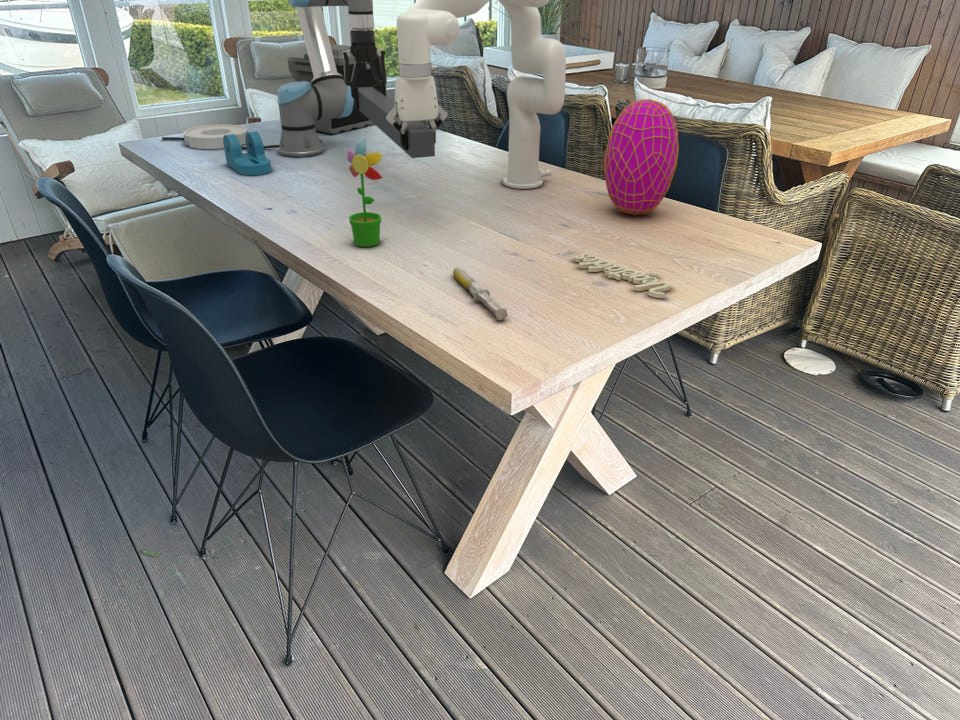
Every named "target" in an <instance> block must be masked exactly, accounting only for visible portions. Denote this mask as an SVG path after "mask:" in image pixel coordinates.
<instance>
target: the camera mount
mask: <svg viewBox="0 0 960 720" xmlns="http://www.w3.org/2000/svg"><path fill="white" fill-rule="evenodd" d="M245 139H246V144H245V147H247V149H246V152H243V151H242V150H243V149H241V147H242V145H240V142H239V140H238V138H237V136H236V135H235V134H230V135H224V137H223V144H224V148H223V149H224V150H223V151H224V156H225V161H226V165H227V166H228V167H230V168H231V169H232V170H234V171H236V172H237V173H238V174H239V175H244V176H260V175H265V174H268V173H271V172H272V164H271V159H270V158H268V157H267V156H266V153H265V149H264V146H265V145H264V141H263V139H262V136H261V134H260V132H258V131H248V132H247V133H246V137H245Z"/></svg>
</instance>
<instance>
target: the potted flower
mask: <svg viewBox="0 0 960 720" xmlns="http://www.w3.org/2000/svg"><path fill="white" fill-rule="evenodd" d="M382 158H383V154H382V153H379V152H370V153H368V154H367V138H363V139H361V140H360V141H359V142H357V144H356V145H355V150H354V151H353V150H352V149H348V150H347V155H346V160H347V162H348V163H349V164H351V165H350V166H349V167H348V170H349V172H350V173H351V175H352V177H354V178H357V177H358V176H359V175H360V186H361V187H356V188H357V191H356V192H357V193H358V194H359V195H360V196H361V199H362V212H356V213H353V214H351V215H350V216H349V217H348V220H349V224H350V226H351V227H350V228H351V232H352V237H353V243H354V244H355V246H358V247H363V248H368V247H375V246H377V245H379V243H380V241H381V240H380V238H381V235H380V234H381V223H382V215H381V214H380V213H378V212H377V213H376V212H373V211H371V212H369V211H367V207H366V205H372V204H373V203H374V202H375V199H374V198H373V197H371V196H366V194H365V179H364V176H365V177H366V178H367V179H369V180H371V181H377V180H381V179H382V178H383V176H382V175H381V173H380V172H378V170H376V169H375V168H373V167H374V166H376V165H377V164H379V163H380V161H381V159H382Z"/></svg>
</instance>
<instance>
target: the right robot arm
mask: <svg viewBox="0 0 960 720" xmlns="http://www.w3.org/2000/svg"><path fill="white" fill-rule="evenodd" d="M490 1H491V0H416V1H415V2H414V3H413V4H412V5H411V6H410V7H409V8H408V9H407V10H406V11H405V12H402V13H400V14H398V15H397V17H396V33H397V35H396V36H397V53H398V70H399V71H398V72H399V73H398V74H399V76H396V78H395V84H394V85H395V86H394V103H395V107H394V108H393V109H392V110H391V112H390V113H389V114H388V115H387V117H386V120H387V121H388V122H390V123H391V124H392V125H393V126H394V127H395V128H396V129H397V130H398V131H399V132H400V143H401V146H403V148H404V149H405V150H408V134H407V133H406V129H407V126H408V122H414V121H421V122H427V126H428V127H429V128H431V129H432V130H434V139H435V144H436V143H437V135H436V133H437V131H438V129H439V128H440V126H441V125H442V123H443V122H444V121H446V118H447V117H448V116H449V114H448V113H447V112H446V111H445V110H444V109H443V107H442V106H441V105H440V104H439V102H438V101H439V100H438V93H437V87H436V82H435V77H434V75H433V72H436V71H437V70H438V69H437V67H438V66H437V64H433V63H432V62H431V59H432V58H431V46H443V47H444V46H448V45H451V44H452V43H454V42H455V41H456V39H457V38H458V36H459V33H460V25H459V24H460V23H459V20H458V19H460V18H465V17H469V16H472V15H475V14H477V13H478V12H479V11H481V10H482V9H483V7H485V6H486V5H487V4H488V3H489V2H490ZM497 1H498V2H499V3H500V4H501V6H503V8H504V9H505V10H506V13H507V14H508V18H509V23H510V42H511V43H510V47H511V49H510V50H511V53H510V55H511V64H512V67H513V68H514V70H516V71H517V72H520V73H525V74H533V75H534V74H535V75H541V76H542V78H540V77H536V76H535V77H533V76H517V77H515V78H513V79H512V80H511V81H510V82H509V83H508V85H507V89H506V100H507V107H508V119H509V120H508V121H509V122H508V123H509V124H508V125H509V127H508V128H509V129H508V157H507V176H504V177H503V179H502V184H503V186H505V187H508V188H511V189H519V190H530V189H531V190H532V189H536V188H539V187H541V186H542V185H543V179H542V178H543V177H548V176H549V177H550V176H552V173H553V172H552V169H544V168H539V165H540V164H539V163H540V162H539V160H540V144H541V143H540V142H541V140H540V139H541V122H540V118H539V117H538V114H542V115H549V116H550V115H551V116H553V115H556V114H559V112H561V110H562V109H563V107H564V102H565V97H566V74H567V73H566V70H567V57H566V54H567V53H566V49H565V47H564V45H563V43H562V42H561V41H560V40H558V39H555V38H549V37H548V38H546V37H542V18H541V13H540V11H539V8H542V7H546V5H548V4H549V3H550V1H551V0H497ZM395 116H396V117H397V118H399V119H400V124H398V123H397V122H396V121H395V120H394V117H395Z"/></svg>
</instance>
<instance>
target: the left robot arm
mask: <svg viewBox="0 0 960 720" xmlns="http://www.w3.org/2000/svg"><path fill="white" fill-rule="evenodd" d="M287 1H288V3H289V5H290V6H291V7H293V8H294V9H295V10H296V14H297V17H298V21H299V25H300V29H301V33H302V37H303V40H304V45H305V48H306V53H308V56H309V60H310V64H311V68H312V72H313V76H314V78H313V79H312V81H311V84H310V83H309V82H306V81H301V82H296V81H293V82H289V83H284V84H283V85H280V86H279V87H278V89H277V91H276V92H277V93H276V94H277V95H276V96H277V105H278V111H279V119H280V127H281V134H280V141H279V144H269V145H264V150H266V149H276V148H277V149H278V151H279V154H280V155H281V156H284V157H291V158H304V157H306V158H307V157H313V156H317V155H320V154H321V153H323V151H324V150H323V140H322V139H320V138H319V135H318V133H317V131H316V130H315V120H324V119H333V118H338V119H339V118H341V117H347V116H349V115H350V114H351V112H352V109H353V104H354V98H355V108H356V109H359V100H358V88H357V87H356V86H355V84H356V80H357V75H358V70H359V66H360V63H361V62H369V65H370V67H371V70H372V73H373V76H374V79H375V81H376V84H377V85H374V89H376V90H377V91H379V92H380V93H381V94H382V89H381V86H382V85H383V84H386V85H387V83H388V79H387V70H386V62H385V61H386V60H385V57H386V50H383V49H379V48H377V45H376V35H375V33H376V32H375V30H374V28H375V19H374V3H373V2H374V1H373V0H287ZM322 7H347V10H348V11H347V13H348V23H349V29H351V30H350V31H349V38H350V46H351V47H350V50H347V51H342V56H343V58H344V79H343V76H342V75H341V74H339V73H338V72H337V69H336V65H335V61H334V57H333V53H332V49H331V45H332V44H331V42H330V38H329V34H328V30H327V26H326V22H325V17H324V13H323V10H322ZM350 54H352V55H353V56H354V58H355V61H354V68H353V72H352V77H351V82H349V58H350ZM375 54H377V55H378V56H379V63H380V72H381V80H380V78H379V75H378V72H377V70H376V67H375V63H374V60H373V57H374V56H375ZM311 85H312V86H311ZM161 140H163V141H185V140H184V137H177V136H162V137H161ZM241 150H247V147H246V146H241Z"/></svg>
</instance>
